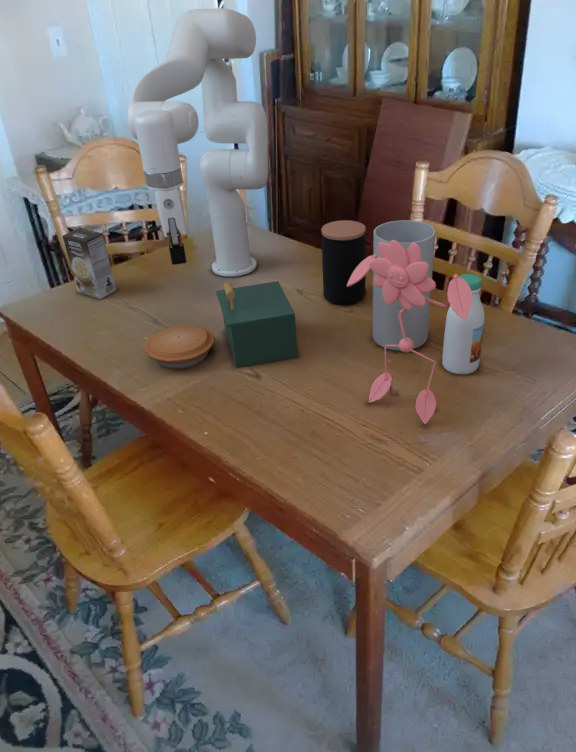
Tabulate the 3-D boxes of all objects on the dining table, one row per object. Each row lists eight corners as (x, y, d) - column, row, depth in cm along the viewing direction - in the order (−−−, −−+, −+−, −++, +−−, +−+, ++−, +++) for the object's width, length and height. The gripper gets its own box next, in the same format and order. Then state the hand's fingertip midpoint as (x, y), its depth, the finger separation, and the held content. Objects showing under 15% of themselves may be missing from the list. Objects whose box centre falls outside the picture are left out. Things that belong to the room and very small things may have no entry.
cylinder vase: (365, 348, 147) (366, 240, 132) (380, 321, 157) (382, 218, 141) (421, 355, 144) (428, 245, 128) (432, 328, 153) (440, 222, 138)
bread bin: (236, 367, 144) (231, 327, 138) (225, 331, 157) (219, 293, 151) (297, 356, 146) (295, 317, 140) (281, 322, 159) (278, 284, 153)
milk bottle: (457, 379, 136) (466, 290, 124) (434, 362, 141) (441, 275, 129) (486, 368, 138) (498, 280, 126) (463, 352, 144) (472, 266, 132)
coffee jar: (365, 287, 171) (366, 219, 160) (364, 306, 163) (365, 236, 152) (325, 287, 173) (322, 220, 161) (322, 306, 164) (319, 237, 153)
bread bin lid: (227, 327, 138) (224, 305, 134) (216, 293, 151) (213, 272, 147) (295, 316, 140) (293, 294, 137) (278, 284, 153) (276, 263, 150)
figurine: (363, 377, 138) (364, 212, 117) (472, 423, 124) (495, 244, 102) (315, 411, 129) (306, 240, 108) (426, 465, 115) (441, 279, 94)
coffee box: (76, 292, 178) (60, 235, 168) (94, 283, 182) (79, 226, 172) (100, 299, 174) (85, 241, 164) (118, 290, 178) (103, 232, 168)
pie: (197, 379, 141) (194, 359, 138) (135, 369, 146) (130, 349, 142) (227, 343, 152) (225, 324, 149) (168, 335, 157) (164, 316, 154)
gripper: (185, 186, 129) (199, 273, 140) (179, 165, 140) (193, 247, 152) (146, 191, 128) (164, 278, 139) (144, 169, 139) (160, 252, 151)
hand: (179, 262), depth 145 cm, fingers closed
